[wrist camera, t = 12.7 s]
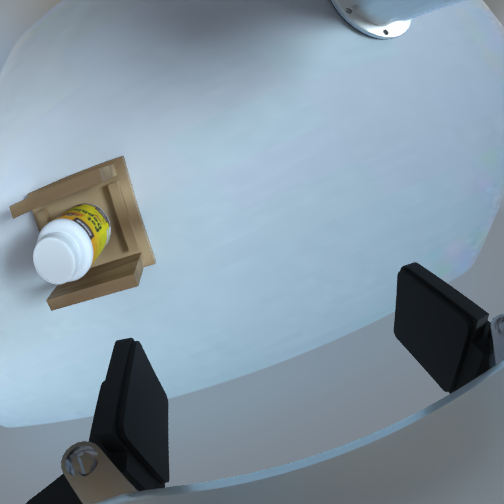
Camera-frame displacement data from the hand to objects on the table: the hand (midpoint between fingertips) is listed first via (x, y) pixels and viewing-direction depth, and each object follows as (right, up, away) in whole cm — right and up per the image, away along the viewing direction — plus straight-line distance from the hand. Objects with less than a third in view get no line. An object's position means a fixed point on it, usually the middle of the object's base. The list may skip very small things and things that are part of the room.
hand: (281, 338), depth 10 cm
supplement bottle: (-18, +6, +20) cm, 28 cm away
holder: (-19, +6, +21) cm, 28 cm away
